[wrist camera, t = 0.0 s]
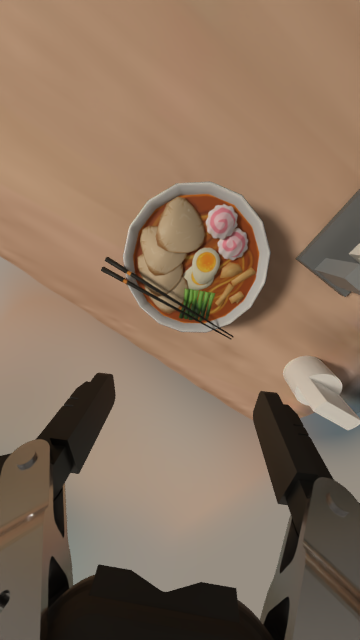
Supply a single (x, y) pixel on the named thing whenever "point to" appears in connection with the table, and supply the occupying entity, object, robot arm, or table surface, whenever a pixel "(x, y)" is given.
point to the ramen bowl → (195, 257)
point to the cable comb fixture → (337, 250)
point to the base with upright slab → (319, 390)
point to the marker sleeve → (356, 253)
